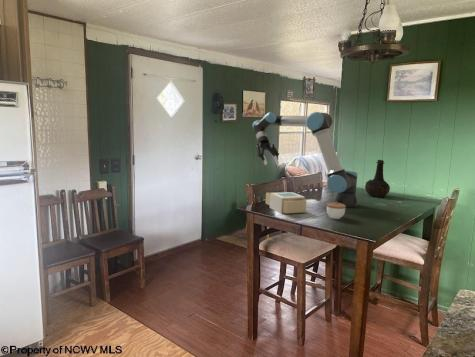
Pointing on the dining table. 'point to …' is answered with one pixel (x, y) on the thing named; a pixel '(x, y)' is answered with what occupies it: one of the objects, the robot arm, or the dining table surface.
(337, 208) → the lidded jar
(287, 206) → the tray
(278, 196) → the cream box
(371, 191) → the glass bottle
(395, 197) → the dining table surface
